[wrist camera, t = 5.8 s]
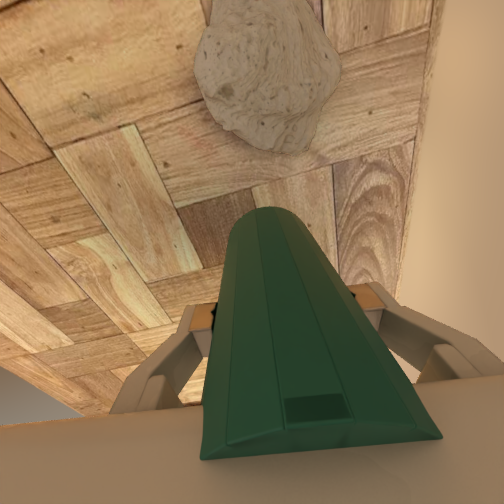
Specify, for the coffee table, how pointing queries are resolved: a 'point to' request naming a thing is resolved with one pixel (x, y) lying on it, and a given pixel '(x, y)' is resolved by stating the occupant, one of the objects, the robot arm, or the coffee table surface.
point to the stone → (266, 71)
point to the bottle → (297, 354)
